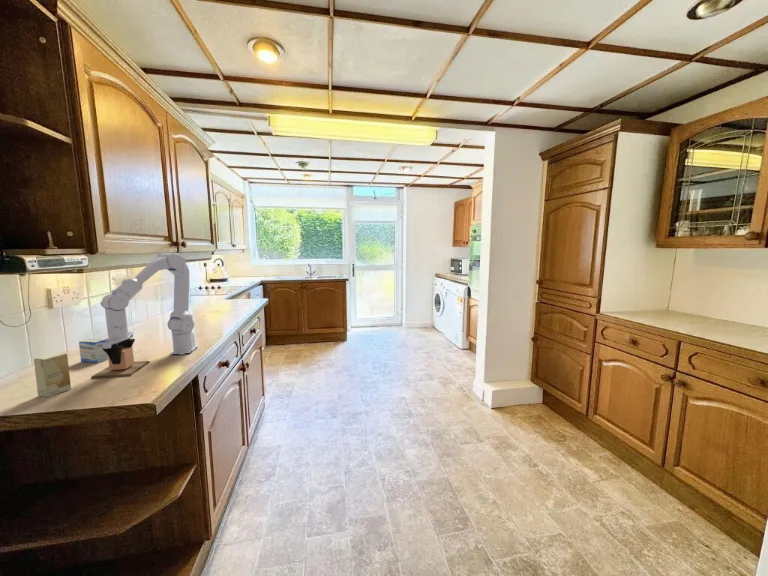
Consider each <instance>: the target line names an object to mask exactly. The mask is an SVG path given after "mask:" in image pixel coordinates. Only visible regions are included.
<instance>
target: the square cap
mask: <svg viewBox="0 0 768 576" xmlns="http://www.w3.org/2000/svg"><path fill="white" fill-rule="evenodd" d="M134 358H135V357H134V349H133V346H132V347H129V348H122V351H121V362H120V364H112V362H111V360H110V358H109V356H108V359H107V360H108V367H109V368H110V370H117V369H127V368H128V367H130V366H131V365H133V364H134V362H135V359H134Z"/></svg>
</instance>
